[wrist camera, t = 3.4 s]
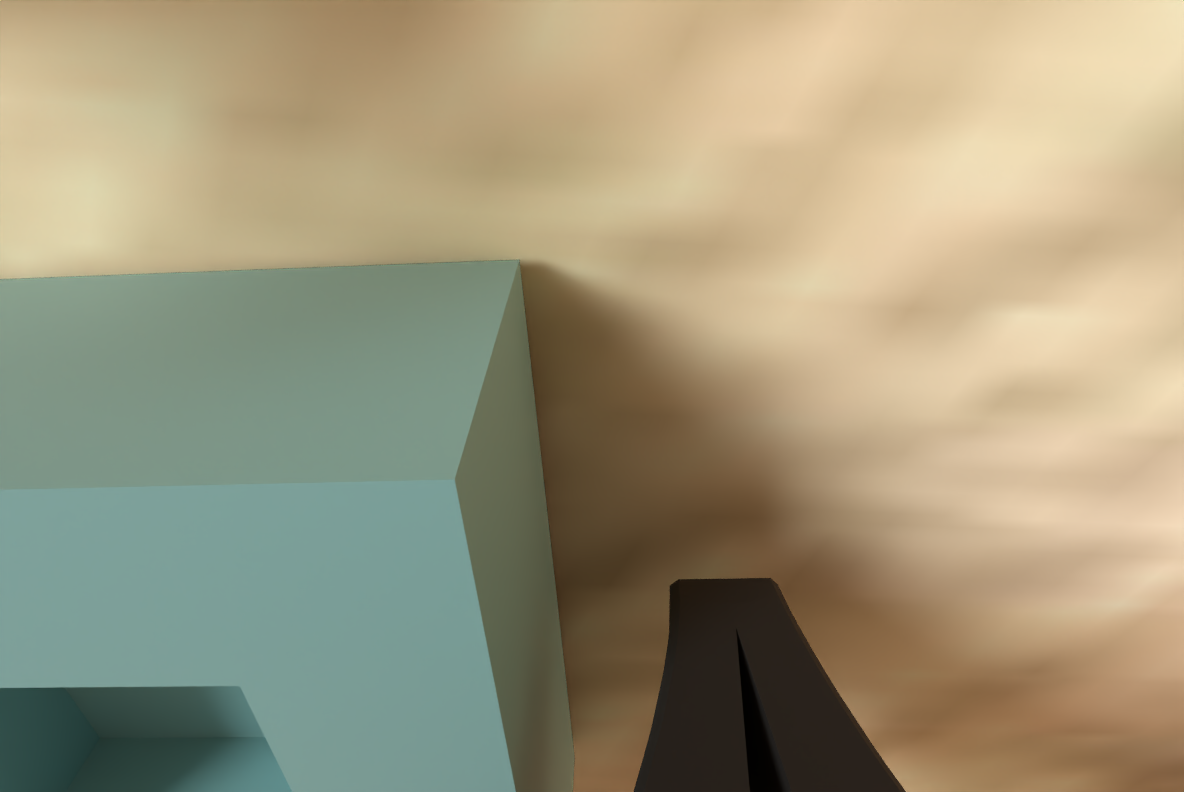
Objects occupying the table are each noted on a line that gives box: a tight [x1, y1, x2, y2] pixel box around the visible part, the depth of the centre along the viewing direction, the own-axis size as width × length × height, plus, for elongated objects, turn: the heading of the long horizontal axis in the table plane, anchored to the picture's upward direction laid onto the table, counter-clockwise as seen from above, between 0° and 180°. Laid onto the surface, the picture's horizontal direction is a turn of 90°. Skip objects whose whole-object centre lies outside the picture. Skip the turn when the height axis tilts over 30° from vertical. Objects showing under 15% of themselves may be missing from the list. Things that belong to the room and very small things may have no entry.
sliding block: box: [0, 260, 575, 792], centre depth 10 cm, size 10×10×4 cm
